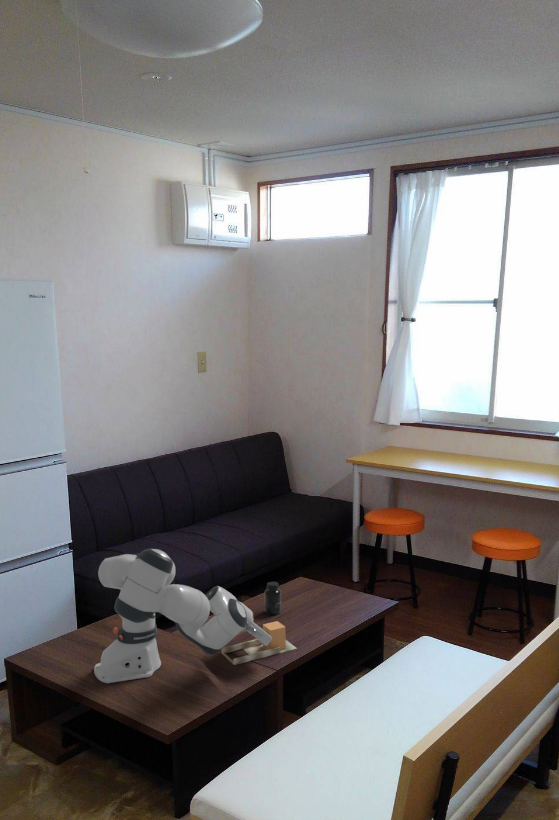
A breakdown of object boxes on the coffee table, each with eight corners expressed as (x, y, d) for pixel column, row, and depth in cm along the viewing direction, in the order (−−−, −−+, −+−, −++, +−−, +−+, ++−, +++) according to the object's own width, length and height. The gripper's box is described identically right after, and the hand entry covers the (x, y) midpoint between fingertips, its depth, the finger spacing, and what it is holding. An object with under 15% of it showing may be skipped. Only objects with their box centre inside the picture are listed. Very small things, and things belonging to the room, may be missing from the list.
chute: (234, 669, 240) (233, 659, 240) (221, 657, 249) (221, 647, 248) (297, 652, 252) (297, 643, 252) (283, 641, 261) (283, 632, 260)
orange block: (270, 652, 249) (270, 630, 248) (263, 645, 254) (262, 624, 253) (285, 648, 252) (285, 626, 251) (277, 642, 257) (277, 621, 256)
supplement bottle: (281, 615, 285) (280, 586, 284) (264, 615, 285) (263, 586, 284) (281, 608, 292) (281, 580, 291) (265, 608, 292) (264, 580, 291)
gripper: (259, 621, 237) (285, 643, 242) (233, 601, 254) (258, 622, 260) (247, 637, 235) (274, 658, 241) (222, 616, 253) (247, 636, 259)
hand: (265, 639), depth 251 cm, fingers closed
